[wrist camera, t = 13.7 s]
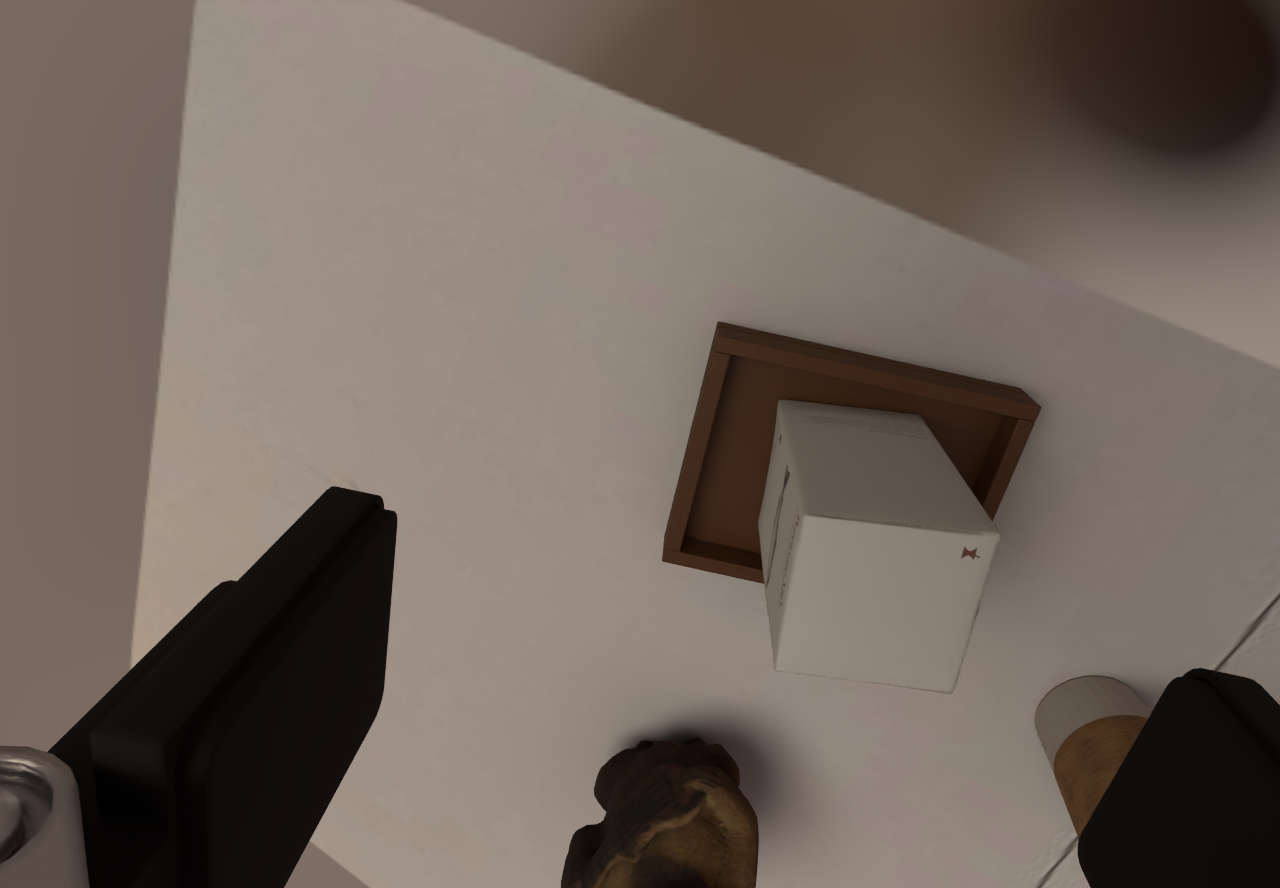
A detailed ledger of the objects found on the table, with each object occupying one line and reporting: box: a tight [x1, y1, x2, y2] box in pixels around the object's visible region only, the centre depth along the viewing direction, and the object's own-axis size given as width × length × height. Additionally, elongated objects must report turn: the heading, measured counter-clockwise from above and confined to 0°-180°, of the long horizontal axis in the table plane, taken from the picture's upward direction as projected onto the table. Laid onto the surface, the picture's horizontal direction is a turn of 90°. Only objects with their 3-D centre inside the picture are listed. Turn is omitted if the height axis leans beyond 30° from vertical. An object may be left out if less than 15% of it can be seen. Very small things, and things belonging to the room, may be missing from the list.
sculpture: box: [561, 738, 759, 888], centre depth 44 cm, size 11×11×15 cm
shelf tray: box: [662, 322, 1041, 584], centre depth 41 cm, size 13×16×3 cm
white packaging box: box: [758, 399, 1001, 694], centre depth 36 cm, size 7×7×13 cm
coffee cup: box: [1035, 676, 1152, 838], centre depth 40 cm, size 8×8×15 cm
